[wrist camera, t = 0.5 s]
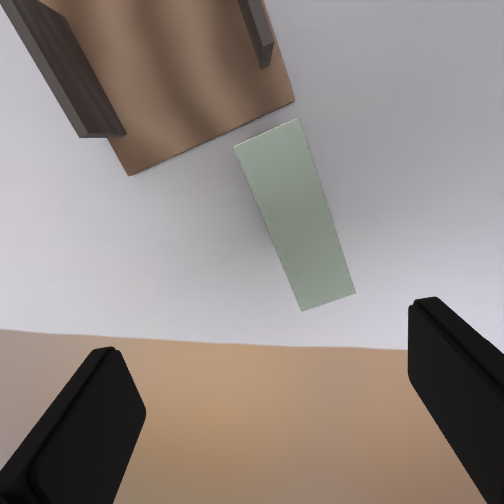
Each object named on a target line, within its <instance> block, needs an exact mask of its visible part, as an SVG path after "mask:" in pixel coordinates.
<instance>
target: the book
mask: <svg viewBox="0 0 504 504" xmlns="http://www.w3.org/2000/svg"><path fill="white" fill-rule="evenodd" d="M233 149H234V151H235V153H236V156H237V157H238V160H239V162H240V165H241V167H242V169H243V172H244V174H245V177H246V179H247V182H248V184H249V186H250V189H251V191H252V194H253V196H254V198H255V201H256V203H257V206H258V208H259V211H260V213H261V215H262V218H263V220H264V223H265V225H266V227H267V230H268V232H269V235H270V237H271V239H272V242H273V244H274V247H275V249H276V252H277V254H278V256H279V259H280V261H281V264H282V266H283V268H284V271H285V273H286V276H287V278H288V281H289V283H290V285H291V288H292V290H293V293H294V295H295V297H296V300H297V302H298V305H299V307H300V310H301V312H302V311H305V310H308V309H311V308H314V307H317V306H320V305H323V304H326V303H329V302H332V301H335V300H337V299H340V298H343V297H346V296H349V295H352V294H355V293H356V292H355V288H354V285H353V282H352V279H351V276H350V273H349V270H348V267H347V264H346V261H345V258H344V255H343V251H342V248H341V245H340V242H339V239H338V236H337V233H336V230H335V227H334V224H333V221H332V218H331V214H330V211H329V208H328V205H327V202H326V199H325V196H324V193H323V190H322V187H321V184H320V181H319V177H318V174H317V171H316V168H315V165H314V162H313V159H312V156H311V153H310V150H309V147H308V143H307V140H306V137H305V134H304V131H303V128H302V125H301V122H300V119H299V117H298V118H295V119H293V120H291V121H288V122H286V123H284V124H282V125H279V126H277V127H275V128H273V129H270V130H268V131H266V132H264V133H261V134H259V135H257V136H255V137H252V138H250V139H248V140H246V141H244V142H241V143H239V144H237V145H235V146H233Z"/></svg>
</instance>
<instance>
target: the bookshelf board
mask: <svg viewBox="0 0 504 504" xmlns="http://www.w3.org/2000/svg"><path fill="white" fill-rule="evenodd" d="M0 4H1V6H2V8H3V9H4V11H5V13H6V14H7V16H8V18H9V19H10V21H11V23H12V25H13V26H14V28H15V30H16V31H17V33H18V35H19V36H20V38H21V40H22V41H23V43H24V45H25V47H26V48H27V50H28V52H29V53H30V55H31V57H32V58H33V60H34V62H35V63H36V65H37V67H38V69H39V70H40V72H41V74H42V75H43V77H44V79H45V80H46V82H47V84H48V86H49V87H50V89H51V91H52V92H53V94H54V96H55V97H56V99H57V101H58V102H59V104H60V106H61V108H62V109H63V111H64V113H65V114H66V116H67V118H68V119H69V121H70V123H71V124H72V126H73V128H74V130H75V131H76V133H77V135H78V136H79V138H107V139H108V141H109V143H110V144H111V146H112V148H113V150H114V151H115V153H116V155H117V157H118V159H119V160H120V162H121V164H122V166H123V168H124V169H125V171H126V173H127V175H128V176H131V175H134V174H137V173H139V172H141V171H143V170H145V169H148V168H150V167H152V166H154V165H156V164H158V163H161V162H163V161H165V160H167V159H169V158H172V157H174V156H176V155H178V154H180V153H183V152H185V151H187V150H189V149H191V148H193V147H196V146H198V145H200V144H202V143H204V142H207V141H209V140H211V139H213V138H215V137H218V136H220V135H222V134H224V133H226V132H228V131H231V130H233V129H235V128H237V127H239V126H242V125H244V124H246V123H248V122H250V121H253V120H255V119H257V118H259V117H261V116H263V115H266V114H268V113H270V112H272V111H274V110H277V109H279V108H281V107H283V106H285V105H288V104H290V103H292V102H294V101H295V97H294V94H293V91H292V87H291V84H290V81H289V78H288V75H287V72H286V69H285V66H284V63H283V60H282V56H281V53H280V50H279V47H278V44H277V41H276V38H275V35H274V32H273V28H272V25H271V22H270V19H269V16H268V13H267V10H266V7H265V4H264V0H0Z"/></svg>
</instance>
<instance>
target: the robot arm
mask: <svg viewBox="0 0 504 504" xmlns="http://www.w3.org/2000/svg"><path fill="white" fill-rule="evenodd" d="M408 376H409V380H410V382H411V384H412V386H413V387H414V389H415V390H416V392H417V393H418V395H419V397H420V398H421V400H422V402H423V403H424V404H425V406H426V408H427V409H428V411H429V413H430V414H431V416H432V417H433V419H434V420H435V422H436V424H437V425H438V427H439V428H440V430H441V431H442V433H443V435H444V436H445V438H446V439H447V441H448V443H449V444H450V445H451V447H452V449H453V450H454V452H455V453H456V455H457V457H458V458H459V460H460V461H461V463H462V465H463V466H464V468H465V469H466V471H467V473H468V474H469V475H470V477H471V479H472V480H473V482H474V484H475V485H476V486H477V488H478V490H479V491H480V493H481V494H482V496H483V498H484V499H485V501H486V502H487V504H504V354H503V353H502V352H501V351H500V350H498V349H497V348H496V347H495V346H494V345H493V344H492V343H490V342H489V341H488V340H486V339H485V338H483V337H482V336H481V335H480V334H479V333H478V332H477V331H475V330H474V329H473V328H472V327H471V326H470V325H469V324H468V323H466V322H465V321H464V320H463V319H462V318H461V317H460V316H458V315H457V314H456V313H455V312H454V311H453V310H452V309H450V308H449V307H448V306H447V305H446V304H445V303H444V302H442V301H441V300H440V299H439V298H437V297H428V298H422V299H416V300H415V301H414V303H413V305H410V306H409V308H408ZM145 418H146V408H145V406H144V403H143V401H142V399H141V397H140V394H139V392H138V390H137V388H136V385H135V383H134V381H133V379H132V377H131V374H130V372H129V370H128V368H127V365H126V363H125V361H124V359H123V356H122V354H121V352H120V351H119V350H116V349H115V348H114V347H104V348H98V349H94V350H93V351H92V352H90V354H89V355H88V356H87V358H86V359H85V360H84V362H83V363H82V364H81V366H80V367H79V368H78V370H77V371H76V372H75V373H74V375H73V376H72V377H71V379H70V380H69V381H68V383H67V384H66V385H65V387H64V388H63V390H62V391H61V392H60V394H59V395H58V396H57V397H56V399H55V400H54V401H53V402H52V404H51V405H50V406H49V408H48V409H47V410H46V412H45V413H44V414H43V416H42V417H41V418H40V420H39V421H38V422H37V424H36V425H35V426H34V427H33V429H32V430H31V431H30V433H29V434H28V435H27V437H26V438H25V439H24V441H23V442H22V443H21V445H20V446H19V448H18V449H17V450H16V451H15V452H14V454H13V455H12V456H11V458H10V459H9V460H8V462H7V463H6V464H5V466H4V467H3V468H2V470H1V471H0V504H113V502H114V499H115V497H116V494H117V491H118V489H119V486H120V484H121V481H122V478H123V476H124V473H125V471H126V468H127V465H128V463H129V460H130V457H131V455H132V452H133V450H134V447H135V444H136V442H137V439H138V437H139V434H140V432H141V429H142V426H143V424H144V421H145Z"/></svg>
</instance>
